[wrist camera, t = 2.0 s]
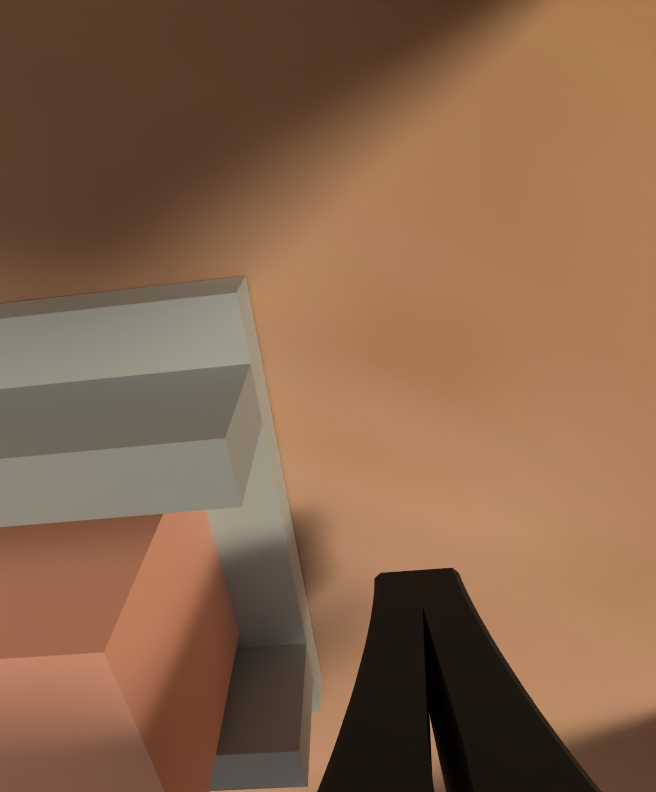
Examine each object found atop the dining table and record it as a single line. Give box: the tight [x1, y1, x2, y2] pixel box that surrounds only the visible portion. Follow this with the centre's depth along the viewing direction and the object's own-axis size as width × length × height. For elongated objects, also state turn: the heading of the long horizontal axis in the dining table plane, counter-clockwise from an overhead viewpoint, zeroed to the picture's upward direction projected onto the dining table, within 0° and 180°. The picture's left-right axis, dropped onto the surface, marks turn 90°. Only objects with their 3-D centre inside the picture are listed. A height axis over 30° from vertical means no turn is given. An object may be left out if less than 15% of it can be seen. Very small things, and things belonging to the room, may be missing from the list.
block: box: [0, 510, 239, 792], centre depth 10 cm, size 5×6×4 cm
